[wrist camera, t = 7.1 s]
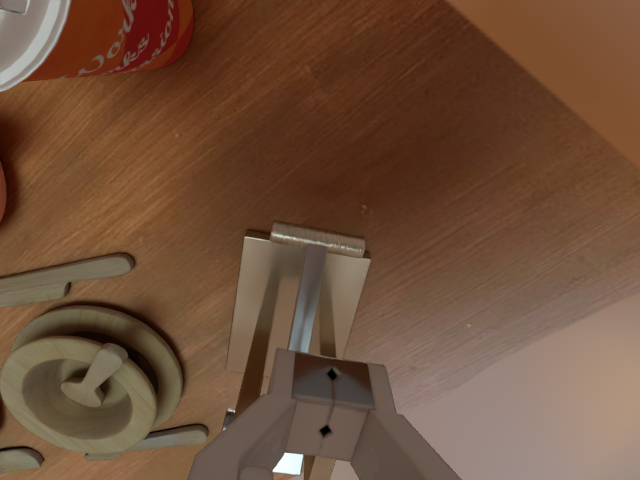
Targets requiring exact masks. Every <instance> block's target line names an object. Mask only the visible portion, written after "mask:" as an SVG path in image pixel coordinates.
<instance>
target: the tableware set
mask: <svg viewBox="0 0 640 480" xmlns="http://www.w3.org/2000/svg"><path fill="white" fill-rule="evenodd" d="M133 267H134V261H133V259H132V258H131V257H130V256H129V255H127V254H124V253H123V254H112V255H107V256H102V257H97V258H92V259H87V260H82V261H77V262H73V263H68V264H63V265H58V266H53V267H49V268H44V269H39V270H34V271H29V272H24V273H19V274H14V275H9V276H4V277H0V306H18V305H25V304H32V303H37V302H43V301H49V300H54V299H59V298H64V297H65V296H66V295H67V293H68V289H69V282H72V281H81V280H88V279H96V278H105V277H113V276H119V275H124V274H126V273H129V272H130V271H131V270H132V268H133ZM182 388H183V378H182V372H181V368H180V365H179V363H178V360H177V358H176V356H175V355H174V353H173V351H172V350H171V348H170V347H169V345H168V344H167V343H166V342H165V341H164V340H163V339H162V338H161V337H160V336H159V335H158V334H157V333H156V332H155V331H154V330H152V329H151V328H150V327H149V326H147V325H146V324H144V323H143V322H141V321H139V320H137V319H136V318H134V317H132V316H129V315H127V314H125V313H123V312H120V311H116V310H113V309H109V308H104V307H99V306H87V305H75V306H66V307H61V308H57V309H54V310H51V311H48V312H46V313H44V314H42V315H40V316H38V317H37V318H35V319H34V320H32V321H31V322H30V323H28V324H27V325H26V326H25V327H24V328H23V329H22V330H21V332H20V333H19V334H18V336H17V338H16V340H15V342H14V344H13V347H12V351H11V354H10V355H9V356H8V358H7V359H6V360H5V362H4V363H3V365H2V368H1V371H0V392H1V395H2V398H3V400H4V402H5V405H6V406H7V408H8V409H9V411H10V412H11V413H12V414H13V416H14V417H15V418H16V419H17V420H18V421H19V422H20V423H21V424H22V425H23V426H24V427H25V428H27V429H28V430H29V431H30V432H32V433H33V434H35V435H36V436H38V437H40V438H41V439H43V440H45V441H47V442H49V443H51V444H53V445H55V446H58V447H61V448H64V449H67V450H71V451H75V452H80V453H86V454H85V458H86V459H87V461H101V460H112V459H116V458H118V457H119V456H120V455H121V454H123V453H124V452H129V451H139V450H148V449H158V448H168V447H177V446H187V445H196V444H201V443H204V442H205V441H206V439H207V436H208V431H207V429H206V428H205V427H204V426H201V425H192V426H187V427H182V428H177V429H172V430H167V431H162V432H156V433H151V434H149V433H150V431H151V430H152V429H154V428H156V427H158V426H160V425H161V424H162V423H164V422H165V421H166V420H167V419H168V418H169V417H170V416H171V415H172V414H173V412H174V411H175V409H176V407H177V406H178V403H179V401H180V398H181V394H182ZM43 462H44V460H43V458H42V456H41V455H40V454H39V453H38V452H36V451H35V450H32V449H25V448H23V449H9V450H2V451H0V473H7V472H13V471H19V470H25V469H32V468H38V467H40V466H41V465H42V463H43Z"/></svg>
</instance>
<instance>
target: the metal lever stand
mask: <svg viewBox="0 0 640 480" xmlns="http://www.w3.org/2000/svg"><path fill="white" fill-rule="evenodd" d="M304 253H305V248H300V247H294V246H289V245H283V244H278V243H273V242H270V234H267V233H261V232H256V231H251V230H247V231H246V233H245V236H244V241H243V248H242V255H241V262H240V269H239V276H238V284H237V291H236V298H235V305H234V312H233V319H232V326H231V333H230V340H229V348H228V355H227V362H226V369H225V370H226V371H231V372H237V373H244V376H243V380H242V385H241V389H240V393H239V397H238V401H237V405H236V409H235V410H234V409H227V411H226V415H225V418H224V423H223V427H222V431H223V430H224V429H225V428H226V427H227V426H228V425H229V424H231V423H232V422H233V421H234V420H235V419H236V418H237V417H238V416H239V415H240V414H242V413H243V412H244V411H245V410H246V409H247V408H248V407H249V406H250V405H251V404H252V403H254V402H255V401H256V400H257V399H258V398H259V397H260V393H261V388H262V382H263V377H270V376H271V371H272V366H273V361H274V357H275V352H276V348H282V349H287V346H288V340H289V335H290V329H291V324H292V318H293V313H294V307H295V302H296V297H297V291H298V286H299V280H300V275H301V269H302V264H303V258H304ZM370 263H371V257H370V254H369V253H368V252H364V255H363V257H362V258H360V259H359V258H353V257H348V256H343V255H337V254H332V253H327V255H326V260H325V266H324V272H323V277H322V283H321V289H320V294H319V300H318V306H317V311H316V317H315V322H314V328H313V334H312V339H311V345H310V351H309V353H310V354H316V355H321V356H326V357H332V358H338V359H343V356H344V352H345V349H346V345H347V342H348V338H349V335H350V332H351V328H352V325H353V321H354V318H355V314H356V311H357V308H358V304H359V301H360V297H361V294H362V290H363V287H364V284H365V280H366V277H367V273H368V270H369V267H370ZM335 461H336V459H331V458H325V457H319V456H310V455H304V480H330V477H331V474H332V471H333V468H334V465H335Z"/></svg>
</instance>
